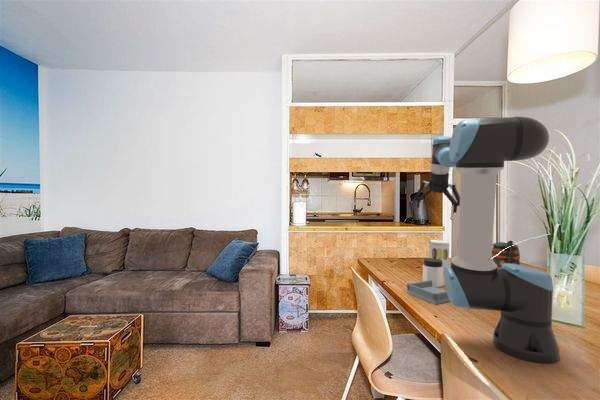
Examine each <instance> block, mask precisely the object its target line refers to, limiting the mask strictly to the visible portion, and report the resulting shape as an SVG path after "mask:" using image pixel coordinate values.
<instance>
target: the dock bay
mask: <svg viewBox="0 0 600 400" xmlns="http://www.w3.org/2000/svg"><path fill="white" fill-rule="evenodd" d="M406 285H407V286H406V287H407V288H406V289H407V290H406V291H407V294H408V295H411V296H413V297H416V298H418V299H421V300H423V301H426V302H429V303H430V304H433V305H440V304H444V303H445V304H446V303H449V302H450V300H449V298H448V295H447V291H446V290H445V289H441V288H440V287H438V288H436V287H433V286H432V281H431V280H429V281H423V280H422V281H416V282H412V283H411V282H410V283H407V284H406ZM450 303H451V302H450Z"/></svg>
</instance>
